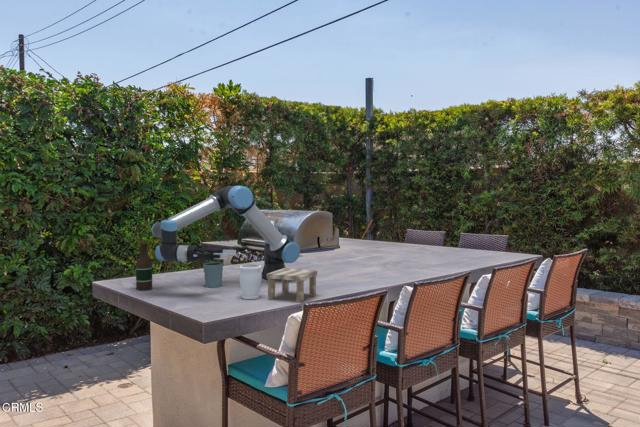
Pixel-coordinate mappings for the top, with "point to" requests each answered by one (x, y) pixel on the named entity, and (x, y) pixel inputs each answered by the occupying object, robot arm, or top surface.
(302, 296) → the stool
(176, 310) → the top surface
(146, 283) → the beer bottle
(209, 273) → the teal plant pot
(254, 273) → the jar
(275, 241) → the robot arm
